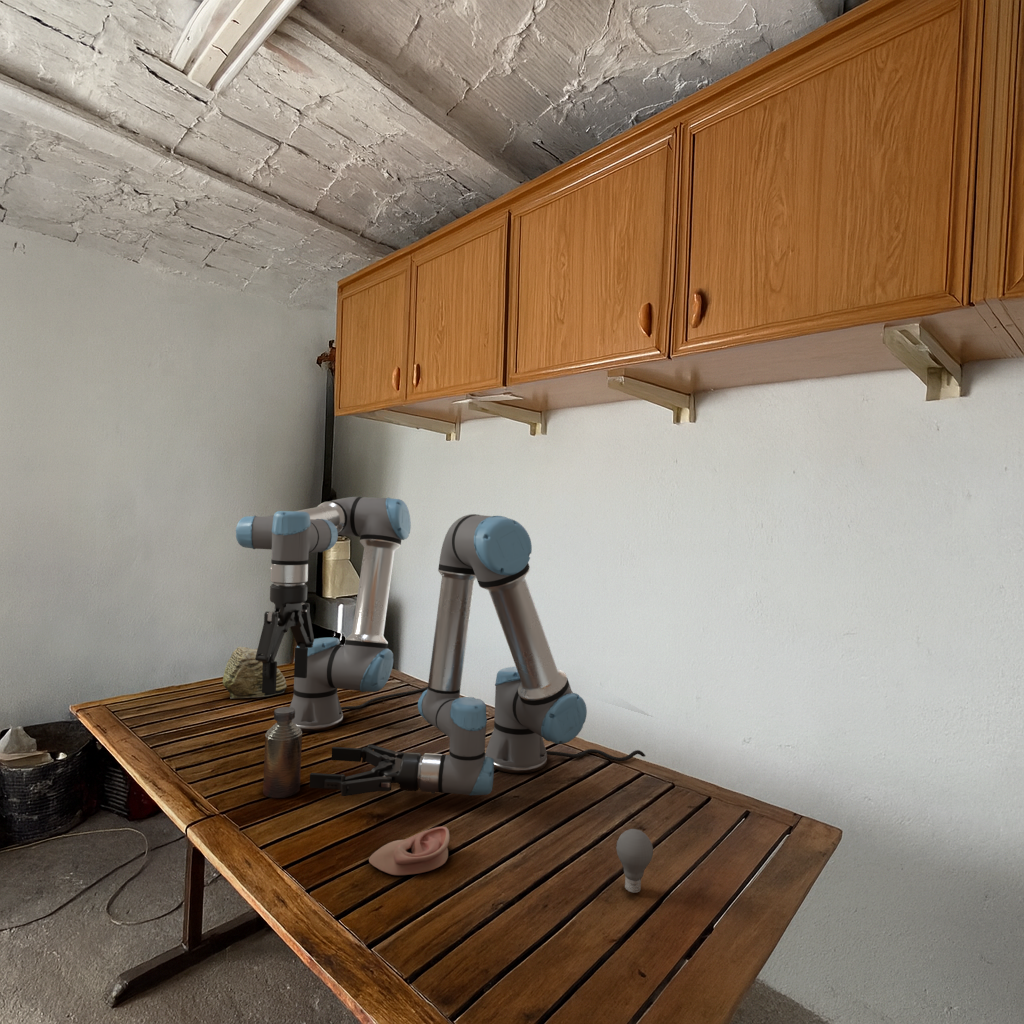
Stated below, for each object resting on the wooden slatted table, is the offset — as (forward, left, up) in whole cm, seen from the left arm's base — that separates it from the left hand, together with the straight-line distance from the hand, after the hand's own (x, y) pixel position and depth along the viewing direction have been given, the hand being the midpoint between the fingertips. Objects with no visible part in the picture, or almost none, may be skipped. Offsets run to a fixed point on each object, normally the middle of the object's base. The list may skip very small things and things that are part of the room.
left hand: (285, 684), depth 136 cm
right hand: (-5, +8, -17) cm, 19 cm away
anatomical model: (-1, +39, -23) cm, 45 cm away
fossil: (-29, -63, -23) cm, 73 cm away
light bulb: (-20, +74, -23) cm, 79 cm away
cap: (0, 0, -6) cm, 6 cm away
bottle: (0, 0, -23) cm, 23 cm away
